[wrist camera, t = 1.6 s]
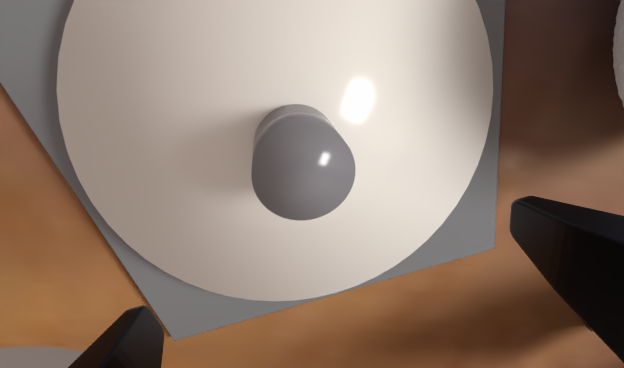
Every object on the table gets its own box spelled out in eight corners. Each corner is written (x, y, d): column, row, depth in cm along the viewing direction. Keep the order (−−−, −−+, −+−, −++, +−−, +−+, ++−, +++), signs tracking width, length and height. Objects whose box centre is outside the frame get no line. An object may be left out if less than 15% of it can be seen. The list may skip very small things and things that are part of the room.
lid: (480, 240, 21) (530, 288, 17) (183, 327, 20) (165, 396, 16) (486, -184, 12) (597, -288, 8) (-53, -45, 11) (-216, -84, 7)
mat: (490, 244, 22) (494, 248, 21) (175, 335, 21) (174, 340, 21) (508, -223, 12) (515, -231, 11) (-94, -71, 11) (-106, -74, 11)
